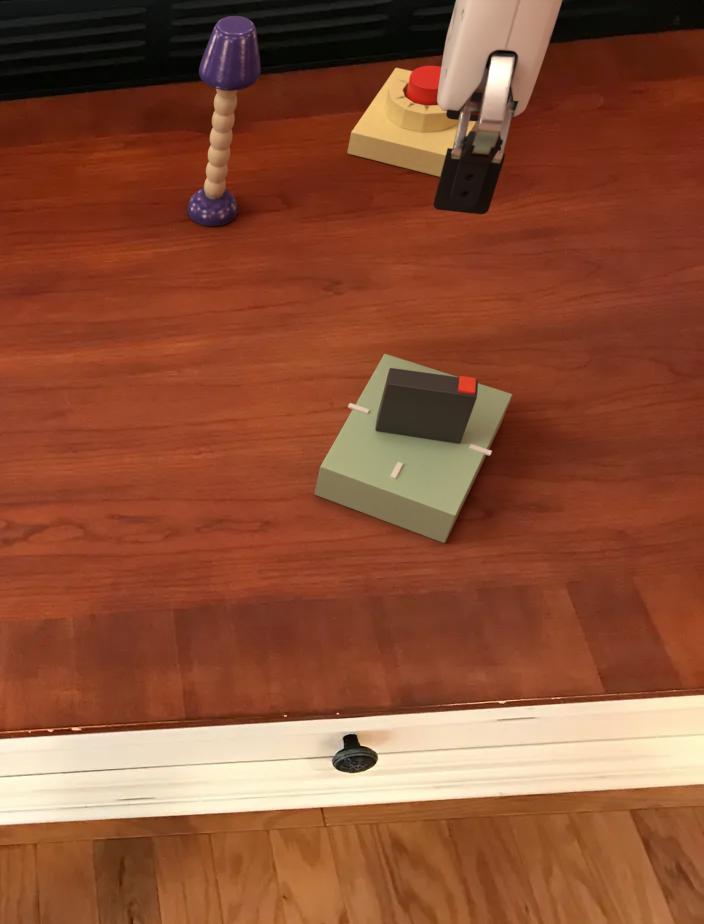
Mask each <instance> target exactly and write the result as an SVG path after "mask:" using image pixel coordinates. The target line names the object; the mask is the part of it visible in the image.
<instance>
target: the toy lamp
mask: <svg viewBox="0 0 704 924" xmlns="http://www.w3.org/2000/svg"><path fill="white" fill-rule="evenodd" d="M261 68H262V67H261V57H260V51H259V42H258V34H257V29H256V25H255V23H254V22H253V21H251V20H250V19H249V18H246V17H244V16H239V15H232V16H231V15H230V16H226V17H223V18H221V19H219V21H217V22H216V24H215V25H214V27H213V30H212V32H211V35H210V37H209V40H208V42H207V45H206V48H205V50H204V53H203V55H202V58H201V61H200V64H199V68H198V75H199V78H200V80H201V81H202V82H203V83H204V84H206V86H209V87H211V88H213V89H215V91H216V94H215V96H214V99H213V107H214V111H213V114H212V116H211V125H212V128H211V131H210V133H209V142H210V145H209V148H208V150H207V160H208V163H207V164H206V167H205V175H206V179H205V181H204V184H203V187H202V188H201V189H198V190H197V191H196V192H194V194H193V195H192V196H191V197H190V200H189V201H188V203H187V204H188V205H187V208H186V210H187V211H186V212H187V216H188V217H189V218H190V219H191V220H192V221H193V222H195V223H196V224H200V225H202V226H208V227H219V226H224V225H227V224H229V223H231V222H232V221H233V220H235V218H236V217H237V214H238V209H239V207H238V203H237V200H236V198H235V196H234V195H233V193H232V192H230V191H229V190H228V189H226V185H227V183H226V177H227V175H228V172H229V171H228V170H229V166H228V162H229V161H230V157H231V149H230V146H231V144H232V141H233V130H232V129H233V127H234V125H235V120H236V119H235V111H236V108H237V105H238V97H237V93H238V91H240V90H245V89H247V88H250V87H252V86H253V85H254V84H256V83H257V82H258V80H259V79H260V75H261V72H262V71H261V70H262V69H261Z"/></svg>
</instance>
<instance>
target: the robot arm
mask: <svg viewBox="0 0 704 924" xmlns="http://www.w3.org/2000/svg"><path fill="white" fill-rule="evenodd" d="M562 2H563V0H455V2H454V7H453V11H452V15H451V19H450V22H449V25H448V28H447V33H446V38H445V42H444V48H443V53H442V54H443V55H442V61H441V66H440V67H441V73H440V80H439V88H438V96H437V103H438V105H439V107H440V108H441V109H442V110H443V111H447V113H446V116H447V117H448V118H449V119H454V120H459V121H458V126H457V130H456V135H455V140H454V144H453V149H452V148H448V149H447V152H446V156H445V160H444V164H443V168H442V172H441V176H440V177H439V180H438V184H437V187H436V190H435V195H434V198H433V199H434V200H433V208H434V209H436V210H437V211H444V212H445V211H446V212H447V211H448V212H456V213H463V214H464V213H465V214H473V215H484V214H487V213H488V212H489V210H490V206H491V204H492V200H493V197H494V194H495V190H496V187H497V184H498V181H499V177H500V173H501V171H502V169H503V165H504V162H505V158H506V157H505V156H506V153H505V147H506V143H507V139H508V135H509V131H510V127H511V121H512V118H515V117H517V116H519V115H520V114H521V113H523V112H525V110H526V109H527V106H528V104H529V102H530V99H531V96H532V94H533V91H534V88H535V85H536V83H537V80H538V77H539V74H540V71H541V68H542V66H543V62H544V59H545V57H546V53H547V50H548V47H549V44H550V41H551V39H552V36H553V31H554V28H555V25H556V22H557V20H558V16H559V12H560V9H561V6H562ZM469 121H477V124H476V127H475V131H470V132H469V133H468V135H467V136H466V133H467V129H468V124H469Z"/></svg>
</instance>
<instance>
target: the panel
mask: <svg viewBox="0 0 704 924" xmlns="http://www.w3.org/2000/svg"><path fill="white" fill-rule="evenodd" d="M390 368H396V369H403V370H410V371H418V372H425V373H432V374H439V375H446V376H453V377H458V376H456V375H453V374H451V373H447V372H444V371H442V370H438V369H435V368H431V367H428V366H425V365H423V364H419V363H415V362H412V361H409V360H406V359H403V358H400V357H397V356H393V355H391V354H387V353H384V354H383V355H382V358H380V361H379V362H378V364H377V366H376V367H375V369H374V371H373V373H372V374H371V377H370V379H369V380H368V382H367V384H366V385H365V387H364V389H363V391H362V393H361V394H360V396H359V398H358V399H357V401H356V403H351V402H349V403H348V405H347V408H348V409H350V410H351V412H350V414H349V415H348V417H347V419H346V421H344V424H343V426H342V427H341V430H340V431H339V433H338V434H337V437H336V438H335V440H334V442H333V444H332V445H331V447H330V448H329V450H328V452H327V454H326V456H325V458H324V459H323V460H322V463H321V465H320V467H319V471H318V475H317V479H316V480H317V481H316V483H315V484H316V485H315V489H314V495H315V496H317V497H320V498H322V499H324V500H328V501H330V502H333V503H336V504H339V505H341V506H344V507H346V508H349V509H351V510H355V511H357V512H360V513H363V514H365V515H367V516H371V517H373V518H375V519H378V520H381V521H383V522H387V523H389V524H391V525H394V526H397V527H400V528H402V529H405V530H408V531H410V532H413V533H416V534H419V535H421V536H424V537H426V538H428V539H432V540H434V541H438V542H440V543H442V544H446V542H447V540H448V538H449V536H450V533H451V531H452V529H453V527H454V526H455V523H456V521H457V519H458V517H459V515H460V512H461V510H462V508H463V506H464V504H465V503H466V500H467V497H468V495H469V493H470V492H471V489H472V487H473V484H474V483H475V481H476V478H477V476H478V474H479V472H480V470H481V468H482V466H483V463H484V461H485V459H486V457H487V456H488V457H490V456H491V455H492V452H493V450H491V449H490V448H491V446H492V444H493V443H494V441H495V438H496V436H497V434H498V431H499V429H500V428H501V425H502V423H503V420H504V417H505V415H506V412H507V410H508V408H509V405H510V402H511V400H512V398H513V393H510V392H507V391H504V390H502V389H501V390H500V389H497V388H494V387H492V386H488V385H485V384H482V383H479V382H478V392H477V399H476V401H475V404H474V407H473V410H472V413H471V415H470V418H469V421H468V424H467V426H466V429H465V432H464V435H463V438H462V440H461V443H452V442H446V441H439V440H433V439H426V438H419V437H413V436H406V435H400V434H393V433H387V432H380V431H376V430H375V427H376V420H377V414H378V410H379V406H380V402H381V399H382V395H383V391H384V387H385V384H386V380H387V376H388V372H389V369H390Z"/></svg>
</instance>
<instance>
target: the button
mask: <svg viewBox="0 0 704 924" xmlns="http://www.w3.org/2000/svg"><path fill="white" fill-rule="evenodd" d="M441 67H442V66H438V65H424V66H419V67H417V68H415V69H413V70H411V71H412V73H411V74H410V78H409V83H408V87H407V92H406V96H407V98H408V99H409V100H411V101H412V102H414V103H417V104H421V105H425V106H432V105H438V103H437V96H438V88H439V80H440V73H441Z"/></svg>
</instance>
